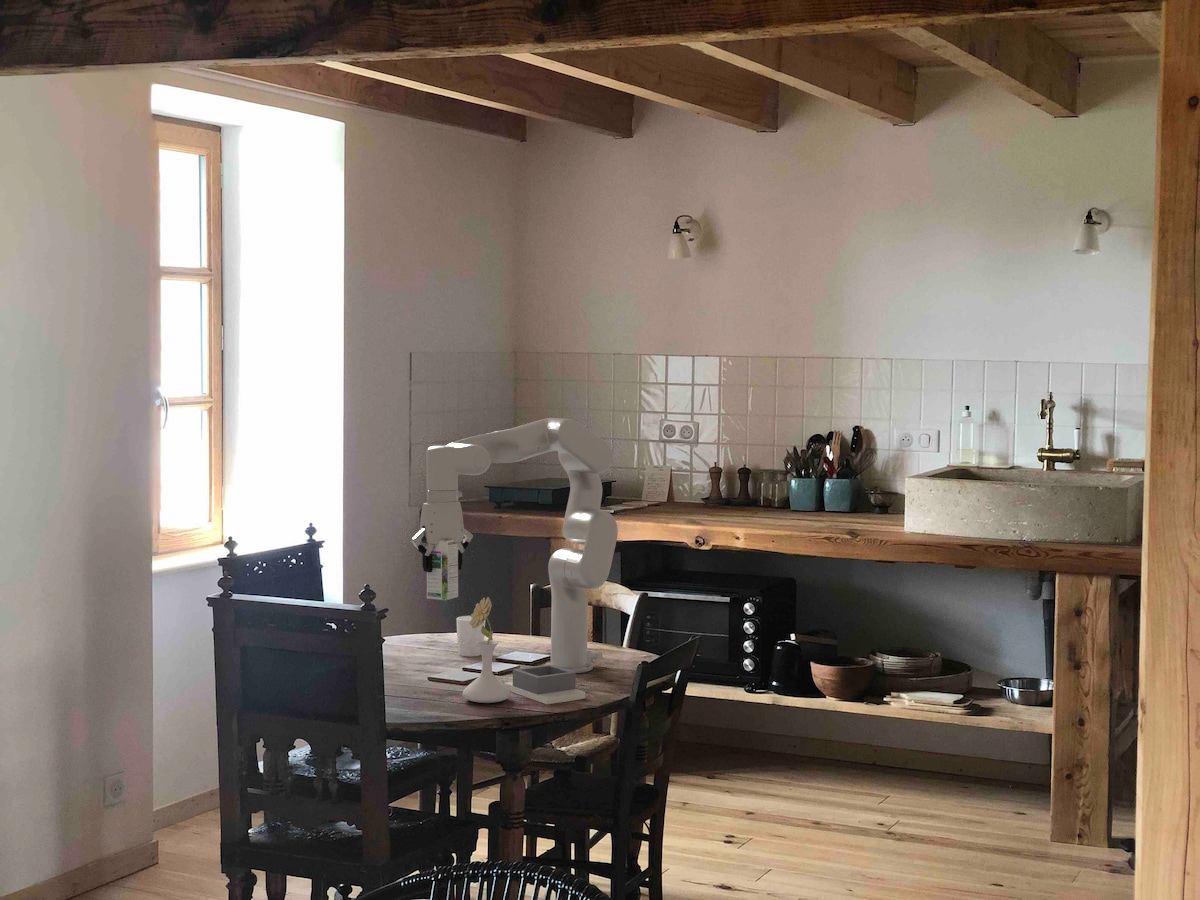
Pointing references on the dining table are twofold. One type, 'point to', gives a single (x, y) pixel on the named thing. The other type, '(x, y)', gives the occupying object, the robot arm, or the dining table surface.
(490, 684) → the flower in vase
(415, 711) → the dining table surface
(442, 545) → the syrup box
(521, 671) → the socket caddy
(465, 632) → the white cup
